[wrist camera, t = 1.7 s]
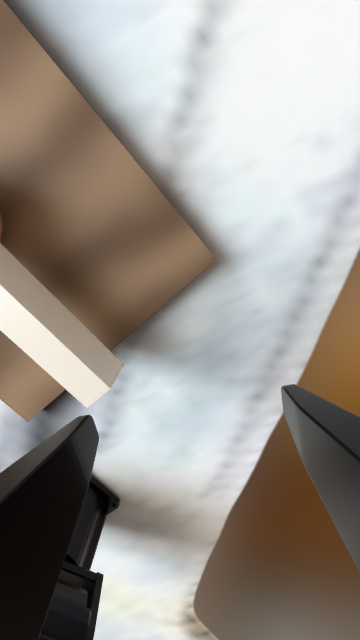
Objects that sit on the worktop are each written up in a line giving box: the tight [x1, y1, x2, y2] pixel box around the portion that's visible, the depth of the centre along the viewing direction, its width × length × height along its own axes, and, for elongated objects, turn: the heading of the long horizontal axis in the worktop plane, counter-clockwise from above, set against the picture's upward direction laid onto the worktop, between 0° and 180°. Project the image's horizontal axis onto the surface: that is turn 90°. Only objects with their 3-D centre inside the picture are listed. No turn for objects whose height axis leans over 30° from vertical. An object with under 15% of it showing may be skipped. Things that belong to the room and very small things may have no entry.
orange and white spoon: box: [0, 218, 123, 408], centre depth 15 cm, size 16×6×3 cm, turn 42°
